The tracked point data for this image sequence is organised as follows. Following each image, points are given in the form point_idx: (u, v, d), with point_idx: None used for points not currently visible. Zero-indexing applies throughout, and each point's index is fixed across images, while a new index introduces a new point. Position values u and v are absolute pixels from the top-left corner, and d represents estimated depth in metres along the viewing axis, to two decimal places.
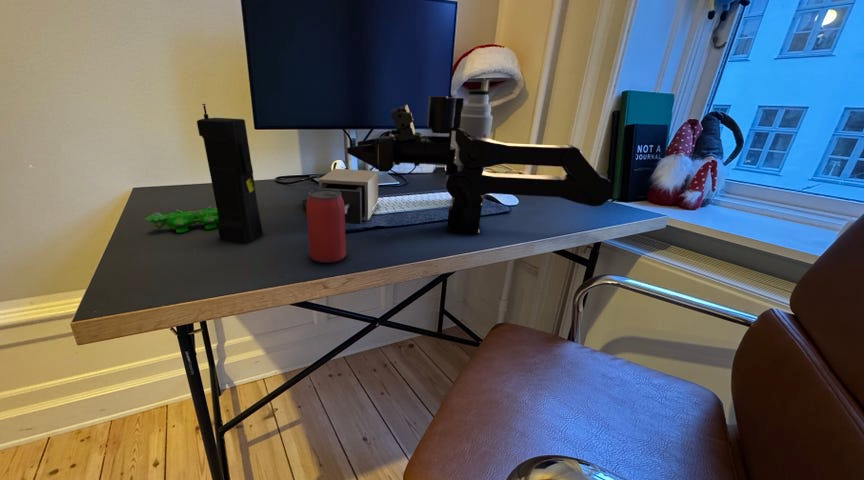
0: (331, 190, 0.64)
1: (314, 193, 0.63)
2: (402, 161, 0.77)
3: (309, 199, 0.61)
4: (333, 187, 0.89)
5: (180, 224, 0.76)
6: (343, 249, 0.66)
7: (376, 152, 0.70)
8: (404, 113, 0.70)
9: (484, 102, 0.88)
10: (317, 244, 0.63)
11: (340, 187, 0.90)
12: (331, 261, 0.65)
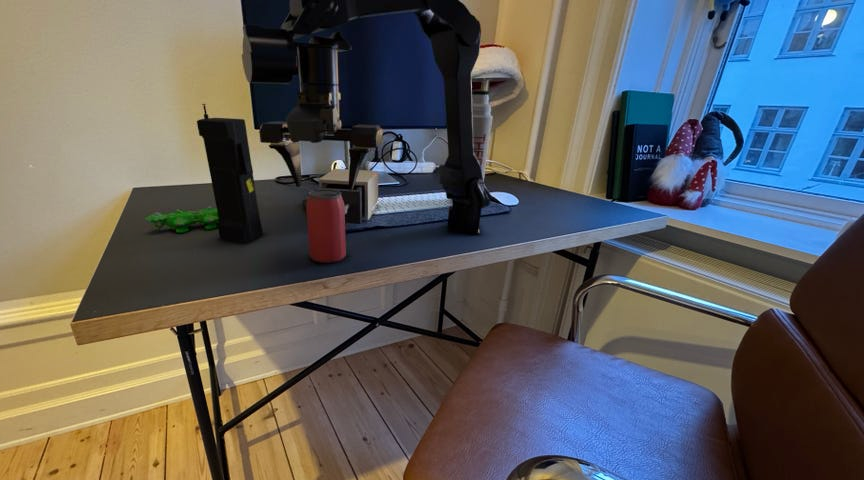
0: (331, 190, 0.64)
1: (314, 193, 0.63)
2: None
3: (309, 199, 0.61)
4: (333, 187, 0.89)
5: (180, 224, 0.76)
6: (343, 249, 0.66)
7: (370, 149, 0.57)
8: (333, 119, 0.50)
9: (484, 102, 0.88)
10: (317, 244, 0.63)
11: (340, 187, 0.90)
12: (331, 261, 0.65)
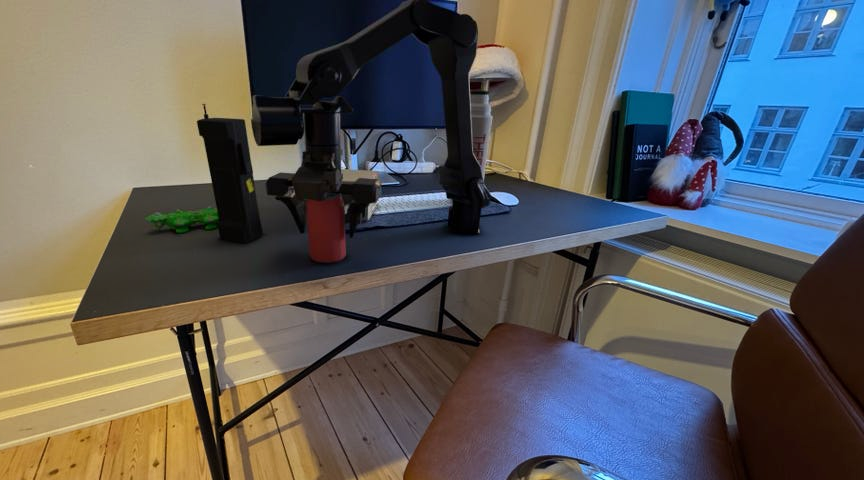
0: None
1: None
2: None
3: (309, 199, 0.61)
4: None
5: (180, 224, 0.76)
6: (343, 249, 0.66)
7: None
8: (336, 181, 0.54)
9: (484, 102, 0.88)
10: (317, 244, 0.63)
11: None
12: (331, 261, 0.65)
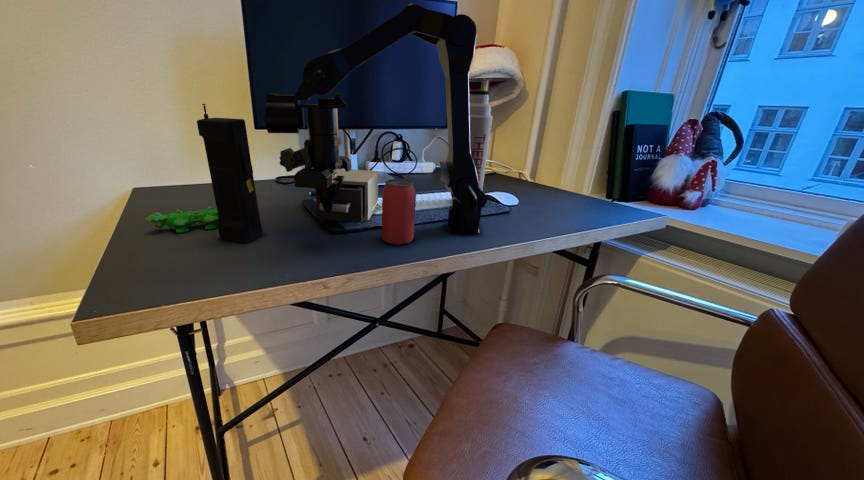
0: (403, 180, 0.73)
1: (389, 182, 0.71)
2: (333, 159, 0.71)
3: (387, 187, 0.69)
4: None
5: (180, 224, 0.76)
6: (412, 232, 0.74)
7: None
8: (281, 157, 0.69)
9: (484, 102, 0.88)
10: (392, 227, 0.71)
11: (341, 186, 0.91)
12: (403, 243, 0.73)
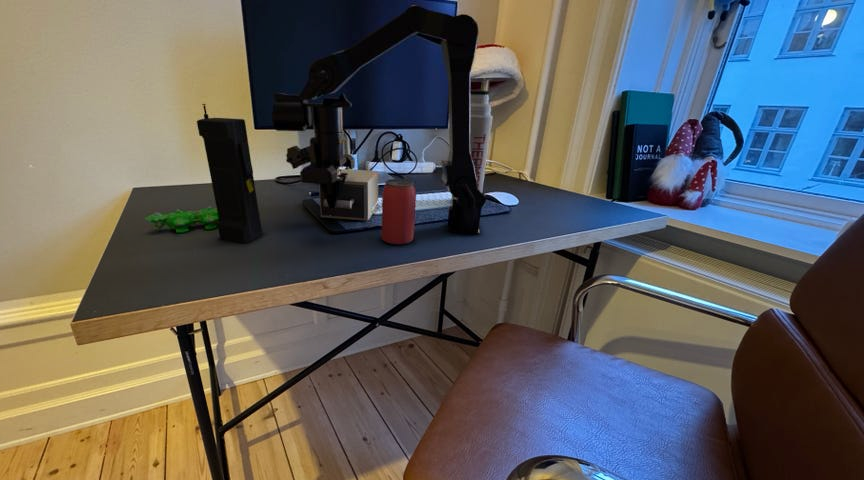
0: (403, 180, 0.73)
1: (389, 182, 0.71)
2: (338, 156, 0.73)
3: (387, 187, 0.69)
4: None
5: (180, 224, 0.76)
6: (412, 232, 0.74)
7: None
8: (287, 155, 0.72)
9: (484, 102, 0.88)
10: (392, 227, 0.71)
11: (344, 184, 0.93)
12: (403, 243, 0.73)
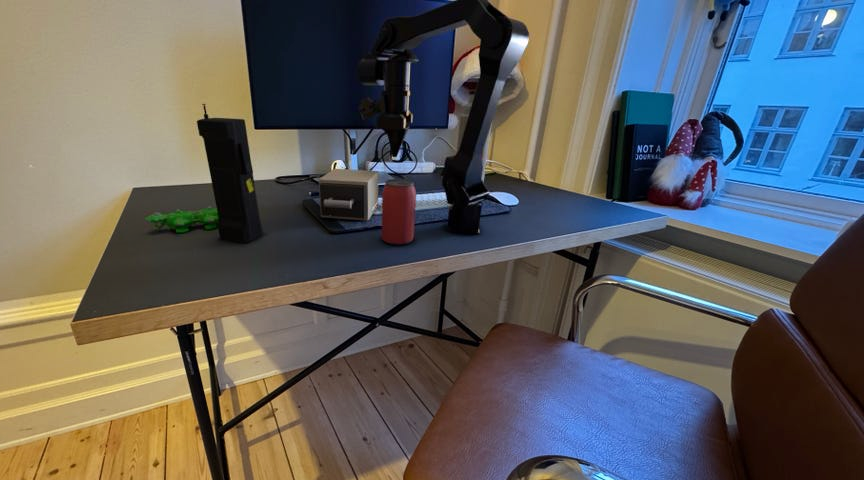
0: (403, 180, 0.73)
1: (389, 182, 0.71)
2: (405, 108, 0.83)
3: (387, 187, 0.69)
4: None
5: (180, 224, 0.76)
6: (412, 232, 0.74)
7: (391, 129, 0.84)
8: (361, 105, 0.82)
9: None
10: (392, 227, 0.71)
11: (344, 184, 0.93)
12: (403, 243, 0.73)
